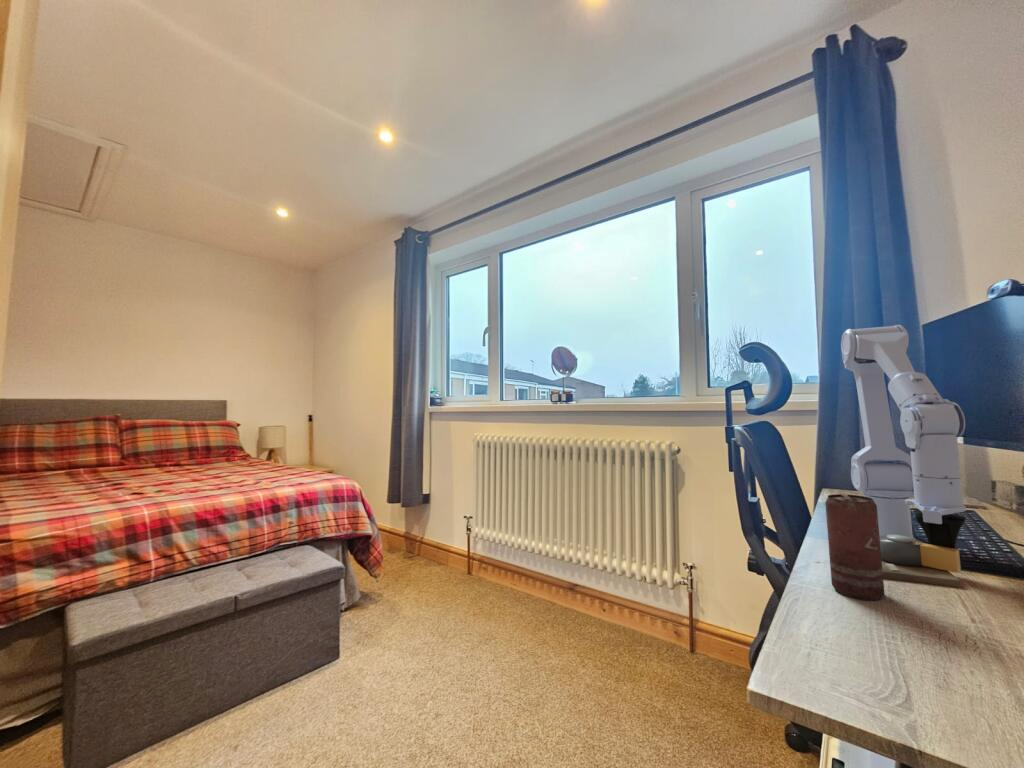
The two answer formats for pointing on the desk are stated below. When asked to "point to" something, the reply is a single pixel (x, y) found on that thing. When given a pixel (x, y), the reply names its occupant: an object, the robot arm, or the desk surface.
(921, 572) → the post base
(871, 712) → the desk surface
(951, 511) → the robot arm
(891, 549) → the toy saucepan
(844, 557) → the can
